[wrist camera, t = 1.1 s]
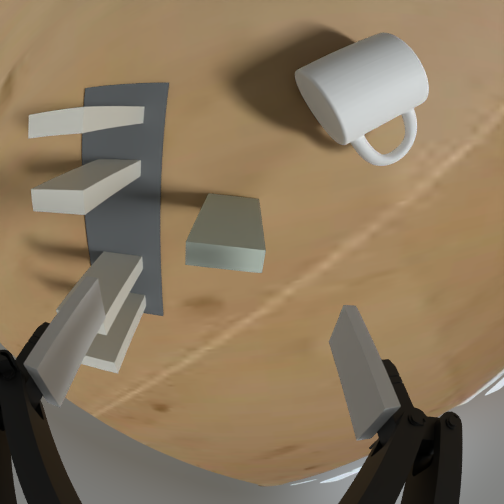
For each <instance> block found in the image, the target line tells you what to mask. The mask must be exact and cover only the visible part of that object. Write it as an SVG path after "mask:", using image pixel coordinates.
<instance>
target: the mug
mask: <svg viewBox="0 0 504 504" xmlns="http://www.w3.org/2000/svg"><path fill="white" fill-rule="evenodd" d="M295 80H296V83H297V86H298V88H299V90H300V93H301V95H302V96H303V98H304V100H305V102H306V104H307V105H308V107H309V108H310V110H311V112H312V113H313V115H314V116H315V118H316V119H317V120H318V122H319V123H320V125H321V126H322V127H323V128H324V130H325V131H326V132H327V133H328V134H329V136H330V137H331V138H332V139H333V140H335V141H336V142H337V143H339V144H341V145H346V144H348V143H351V144H352V146H353V147H354V149H355V150H356V152H357V153H358V154H359V155H360V156H361V157H362V158H363V159H364V160H366V161H367V162H369V163H371V164H373V165H377V166H385V165H390V164H392V163H395V162H397V161H398V160H400V159H401V158H402V157H403V156H405V155H406V153H407V152H408V151H409V149H410V148H411V146H412V144H413V142H414V140H415V137H416V132H417V120H416V115H415V111H414V107H416V106H418V105H420V104H422V103H424V102H425V100H426V99H427V97H428V92H429V86H428V79H427V76H426V73H425V70H424V68H423V66H422V64H421V62H420V60H419V59H418V57H417V56H416V54H415V53H414V52H413V50H412V49H411V48H410V47H409V46H408V45H407V44H406V43H405V42H404V41H402V40H401V39H400V38H398V37H396V36H394V35H392V34H389V33H379V34H376V35H373V36H371V37H368V38H366V39H363V40H361V41H358V42H356V43H353V44H351V45H348V46H346V47H344V48H342V49H339V50H337V51H335V52H333V53H330V54H328V55H326V56H324V57H322V58H320V59H318V60H316V61H314V62H311V63H309V64H307V65H305V66H304V67H302V68H300V69H298V70H296V72H295ZM399 115H402V118H403V121H404V125H405V137H404V139H403V141H402V143H401V144H400V145H399V146H398V147H397V148H396V149H394V150H393V151H392V152H390V153H388V154H380V153H378V152H377V151H376V150H375V149H373V147H372V146H371V145H370V144H369V143H368V141H367V140H366V138H365V136H364V134H366V133H368V132H369V131H371V130H373V129H375V128H377V127H379V126H380V125H382V124H384V123H386V122H388V121H390V120H392V119H393V118H395V117H397V116H399Z"/></svg>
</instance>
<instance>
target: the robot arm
mask: <svg viewBox="0 0 504 504" xmlns="http://www.w3.org/2000/svg"><path fill="white" fill-rule="evenodd" d="M105 318H106V315H105V311H104V306H103V302H102V297H101V292H100V286H99V281H98V278H95V277H89V276H86V277H85V278H84V280H83V281H82V282H81V283H80V285H79V286H78V287H77V288H76V290H75V291H74V292H73V294H72V295H71V296H70V297H69V299H68V300H67V301H66V303H65V304H64V305H63V307H62V308H61V309H60V311H59V312H58V313H57V315H56V316H55V318H54V319H53V320H52V322H51V323H47V322H45V323H43V324H42V325H40V326H39V327H38V328H37V329H36V331H35V332H34V333H33V335H32V336H31V338H30V339H29V340H28V342H27V343H26V345H25V346H24V348H23V349H22V351H21V352H20V354H19V355H18V357H17V358H16V360H14V358H13V356H12V354H11V353H10V352H9V351H7V350H0V504H17V501H16V495H15V489H14V481H13V473H12V463H11V456H12V460H13V463H14V467H15V469H16V473H17V476H18V479H19V482H20V485H21V487H22V490H23V493H24V495H25V498H26V500H27V503H28V504H82V503H81V501H80V499H79V497H78V496H77V493H76V491H75V489H74V487H73V485H72V483H71V481H70V479H69V477H68V475H67V472H66V470H65V468H64V466H63V463H62V461H61V458H60V456H59V453H58V451H57V448H56V445H55V443H54V440H53V437H52V434H51V431H50V428H49V425H48V422H47V418H46V415H45V412H44V408H43V405H42V403H41V401H40V400H41V398H42V396H44V398H45V399H46V401H47V402H48V403H51V404H53V405H55V406H58V407H61V405H62V403H63V400H64V398H65V396H66V394H67V392H68V390H69V387H70V385H71V383H72V381H73V379H74V377H75V375H76V373H77V371H78V369H79V367H80V365H81V363H82V361H83V359H84V357H85V355H86V353H87V351H88V349H89V347H90V345H91V344H92V342H93V340H94V338H95V336H96V334H97V333H98V331H99V329H100V327H101V325H102V323H103V322H104V320H105ZM329 344H330V347H331V350H332V354H333V357H334V360H335V364H336V367H337V371H338V374H339V377H340V381H341V384H342V388H343V391H344V395H345V399H346V402H347V406H348V410H349V413H350V417H351V421H352V425H353V428H354V432H355V436H356V440H363V439H370V438H372V437H373V436H374V435H375V434H376V433H378V436H379V439H377V440H376V441H375V442H374V443H373V444H372V445H371V446H370V448H369V449H372V450H371V452H370V454H369V456H368V458H367V459H366V461H365V463H364V464H363V466H362V468H361V469H360V471H359V473H358V474H357V476H356V478H355V479H354V481H353V482H352V484H351V486H350V487H349V489H348V490H347V492H346V493H345V495H344V496H343V498H342V499H341V501H340V502H339V503H338V504H395V502H396V500H397V498H398V496H399V494H400V492H401V490H402V488H403V486H404V483H405V487H404V491H403V496H402V501H401V504H459V497H460V488H461V474H462V423H461V419H460V418H459V416H458V415H457V414H455V413H453V412H446V413H444V414H443V415H442V416H441V417H440V418H437V417H427V416H426V415H425V414H424V412H423V411H421V410H420V409H417V408H414V407H413V405H412V402H411V400H410V398H409V395H408V393H407V391H406V388H405V386H404V384H403V383H402V379H401V377H399V373H398V371H397V369H396V367H395V365H394V364H393V363H392V362H391V361H390V360H389V359H386V360H381V358H380V356H379V353H378V351H377V349H376V347H375V345H374V342H373V340H372V338H371V336H370V334H369V332H368V329H367V327H366V325H365V323H364V321H363V319H362V317H361V315H360V313H359V311H358V309H357V307H356V306H352V305H343V308H342V310H341V313H340V315H339V318H338V321H337V323H336V326H335V328H334V331H333V333H332V336H331V338H330V340H329ZM405 481H406V482H405Z"/></svg>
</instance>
